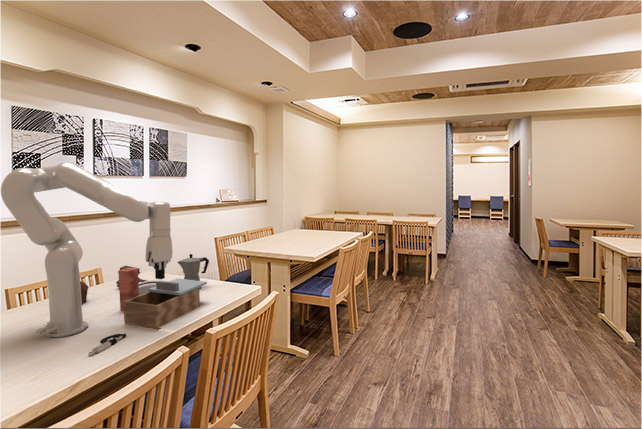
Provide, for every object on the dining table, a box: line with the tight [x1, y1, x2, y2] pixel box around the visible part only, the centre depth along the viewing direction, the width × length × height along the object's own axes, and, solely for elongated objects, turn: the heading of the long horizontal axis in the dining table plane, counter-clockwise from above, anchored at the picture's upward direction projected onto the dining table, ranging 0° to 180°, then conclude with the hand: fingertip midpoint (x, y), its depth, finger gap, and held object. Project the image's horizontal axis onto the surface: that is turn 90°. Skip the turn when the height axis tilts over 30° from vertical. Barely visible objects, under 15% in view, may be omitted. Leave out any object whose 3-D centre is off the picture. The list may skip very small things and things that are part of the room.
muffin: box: [80, 280, 89, 305], centre depth 159 cm, size 12×11×10 cm
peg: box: [117, 267, 139, 312], centre depth 148 cm, size 5×5×18 cm
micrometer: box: [87, 333, 127, 357], centre depth 119 cm, size 15×7×3 cm, turn 167°
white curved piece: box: [138, 279, 169, 295], centre depth 165 cm, size 17×5×10 cm, turn 111°
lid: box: [148, 278, 208, 295], centre depth 152 cm, size 17×16×4 cm
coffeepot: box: [177, 253, 210, 291], centre depth 181 cm, size 15×9×18 cm, turn 121°
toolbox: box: [123, 288, 201, 331], centre depth 144 cm, size 24×16×9 cm, turn 161°
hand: (160, 278), depth 142 cm, fingers closed
